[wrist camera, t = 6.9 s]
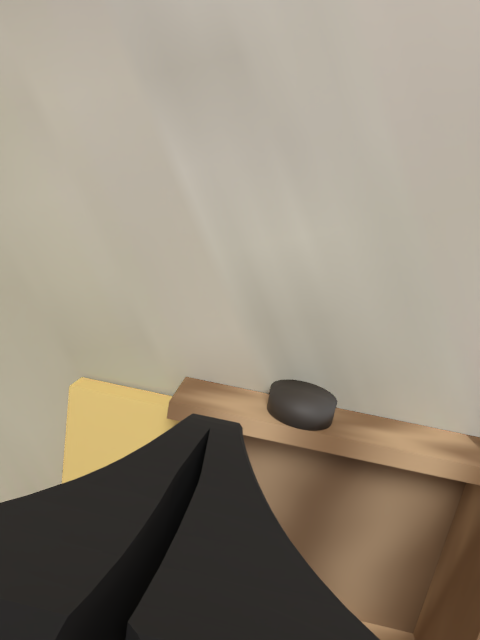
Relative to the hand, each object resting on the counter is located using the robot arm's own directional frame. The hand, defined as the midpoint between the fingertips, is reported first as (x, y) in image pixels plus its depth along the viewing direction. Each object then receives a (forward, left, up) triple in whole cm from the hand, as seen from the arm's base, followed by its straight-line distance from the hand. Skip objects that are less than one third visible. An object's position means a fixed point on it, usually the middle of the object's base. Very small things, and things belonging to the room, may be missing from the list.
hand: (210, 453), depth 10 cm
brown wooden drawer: (-5, +8, -9) cm, 13 cm away
